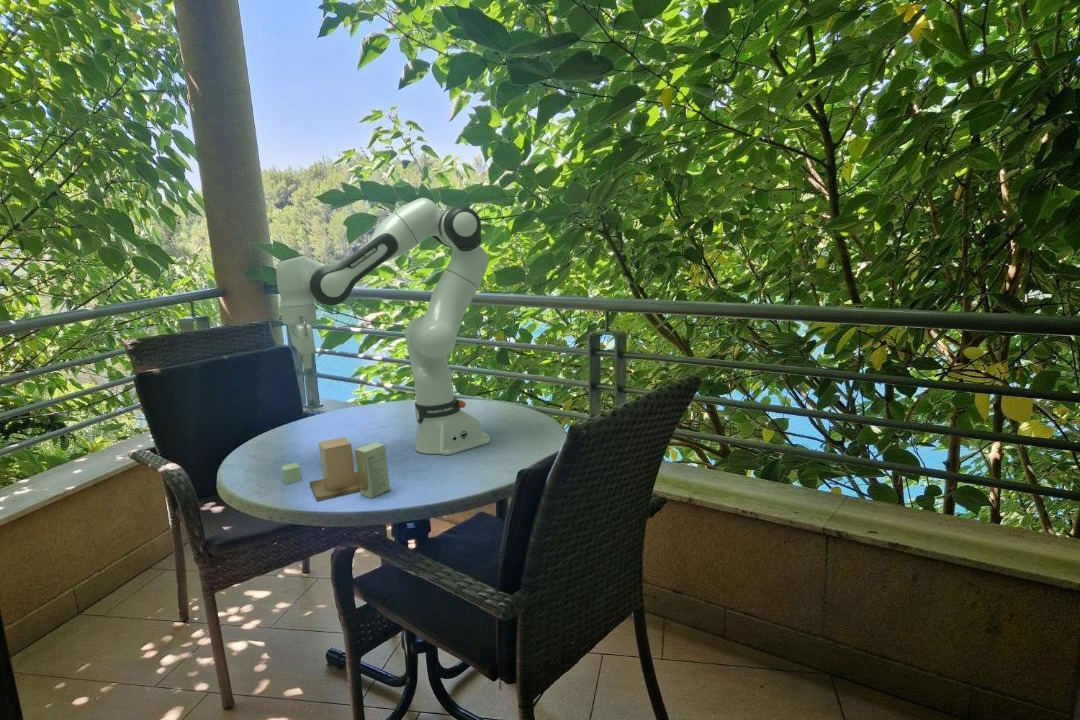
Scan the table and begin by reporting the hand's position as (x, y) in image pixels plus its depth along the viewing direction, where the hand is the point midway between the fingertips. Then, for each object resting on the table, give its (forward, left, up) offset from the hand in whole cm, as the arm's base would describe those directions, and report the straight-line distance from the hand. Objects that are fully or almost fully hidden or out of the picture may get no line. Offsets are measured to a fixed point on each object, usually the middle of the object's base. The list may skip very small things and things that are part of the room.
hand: (305, 365), depth 172 cm
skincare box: (-9, +30, -29) cm, 43 cm away
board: (-2, +21, -29) cm, 36 cm away
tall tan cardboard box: (-2, +21, -28) cm, 35 cm away
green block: (+8, +8, -29) cm, 31 cm away
